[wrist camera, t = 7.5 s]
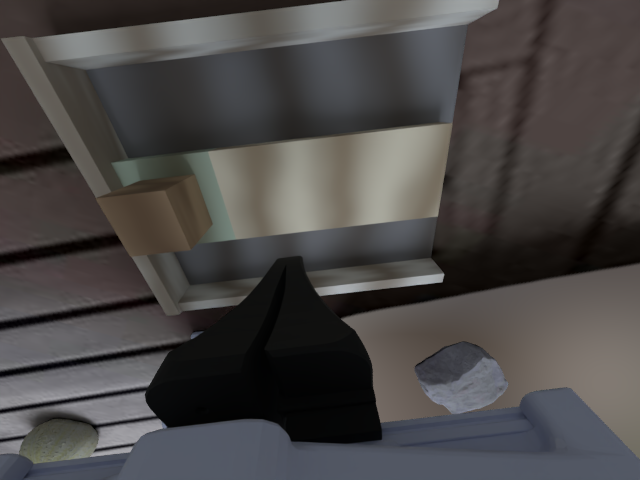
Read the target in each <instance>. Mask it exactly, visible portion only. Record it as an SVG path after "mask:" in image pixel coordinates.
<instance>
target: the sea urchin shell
mask: <svg viewBox="0 0 640 480" xmlns="http://www.w3.org/2000/svg"><path fill="white" fill-rule="evenodd" d="M98 440H99V439H98V436H97V432H96V431H95V429H94V428H93V427H92V426H91V425H89V424H87V423H82V422H77V421H73V420H70V419H68V420H67V419H59V418H58V419H52V420H49V421H48V422H44V423H43V424H40V425H39V426H37V427H35V428H34V429H33V430H32V431H31V432H30V433H28V435H27V436H26V437H25V439H24V441H23V442H22V445H21V448H20V451H19V455H22V456H25V457H27V458H28V459H30V460H31V461H33V464H37V463H45V462H54V461H62V460H71V459H79V458H87V457H90V456H91V454H92V453H93V452H94V450H95V448H96V447H97V444H98Z"/></svg>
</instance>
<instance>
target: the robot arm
mask: <svg viewBox="0 0 640 480" xmlns="http://www.w3.org/2000/svg"><path fill="white" fill-rule="evenodd" d="M372 373H373V369H372V363H371V360H370V358H369V355H368V353H367V351H366V349H365V347H364V345H363V343H362V341H361V340H360V338H359V336H358V335H357V333H356V331H355V330H354V329H352V328H351V327H350V326H348V325H347V324H346V323H345V322H343V321H342V320H341V319H340V318H339V317H338V316H337V315H336V314H335V313H334V312H333V311H332V310H331V309H330V308H329V307H328V306H327V305H326V304H325V302H324V301H323V300H322V299H321V297H320V296H319V295H318V293H317V292H316V290H315V289H314V287H313V285H312V284H311V282H310V280H309V278H308V276H307V274H306V272H305V268H304V262H303V257H301V256H293V257H285V258H278V259H277V260H276V261H275V262H274V264H273V265H272V267H271V268H270V269H269V271H268V272H267V273H266V275H265V276H264V277H263V278H262V280H261V281H260V282H259V283H258V285H257V286H256V287H255V288H254V289H253V290H252V292H251V293H250V294H249V295H248V296H247V297H246V298H245V299H244V300H243V301H242V302H241V303H240V304H238V305H237V306H236V307H235V308H234V309H233V310H232V311H230V312H229V313H228V314H227V315H225V316H224V317H223V318H222V319H221V320H219V321H218V322H217V323H215V324H214V325H212V326H211V327H210V328H208V329H207V330H205V331H202V332H194V333H192V335H191V340H190V341H188V342H186V343H184V344H183V345H181V346H179V347H178V348H176V349H174V350H173V351H171V352H169V353H168V355H167V356H166V358H165V359H164V361H163V363H162V364H161V366H160V368H159V370H158V371H157V373H156V375H155V376H154V378H153V380H152V382H151V383H150V385H149V387H148V389H147V391H146V393H145V398H146V402H147V404H148V406H149V407H150V409H151V410H152V411H153V412H154V413H155V414H156V415H157V417H158V418H159V419H160V420H161V421H162V427H163V429H160V430H156V431H153V432H149V433H147V434H145V435H143V436H141V438H140V439H139V440H138V441H137V442H136V443H135V445H134V447H133V448H132V450H131V452H130V453H121V454H113V455H104V456H96V457H87V458H79V459H71V460H62V461H54V462H45V463H37V464H33V461H31V460H30V459H28V458H27V457H25V456H22V455H19V454H1V455H0V480H640V459H639V458H638V457H637V456H636V455H635V454H634V453H633V452H632V451H631V450H630V449H629V448H628V447H627V446H626V445H625V444H624V443H623V442H622V441H621V440H620V439H619V438H618V437H617V436H616V435H615V434H614V432H612V430H611V429H609V427H608V426H607V425H606V424H605V423H604V422H603V421H602V420H601V419H600V418H599V417H598V416H597V415H596V414H595V413H594V412H593V411H592V410H591V409H590V408H589V407H588V406H587V405H586V403H584V401H582V399H581V398H580V397H579V396H578V395H577V394H576V393H575V392H574V391H573V390H572V389H571V388H567V387H566V388H557V389H549V390H540V391H534V392H530V393H528V394H526V395H525V396H524V397H523V398H522V400H521V403H520V406H519V407H511V408H503V409H495V410H487V411H478V412H469V413H460V414H452V415H443V416H435V417H427V418H419V419H410V420H401V421H393V422H384V423H380V419H379V415H378V411H377V407H376V398H375V394H374V390H373V374H372Z"/></svg>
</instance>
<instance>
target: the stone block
mask: <svg viewBox="0 0 640 480" xmlns="http://www.w3.org/2000/svg"><path fill="white" fill-rule="evenodd" d="M415 373H416V375H417V377H418V380H419V382H420V384H421V387H422V388H423V390H424V392H425V394H426V395H427V396H428V397H429V398H430V399H431V400H432V401H434V402H436V403H438V404H439V405H440V404H443V405H444V406H445V407H446V408H448V409H449V411H450V412H451V413H452V414H459V413H462V412H466V411H471V410H474V409H480V408H482V407H484V406H487V405H488V404H491V403H493V402H494V401H495V400H496V399H497V398H498V397H499V396H500V395H502V394H503V393H504V391H505V390H506V388H507V386H508V382H507V381H506V379H505V378H504V375H503V372H502V370H501V368H500V367H499V365H498V363H497V361H496V360H495V359H494V358H493V357H491V356H490V355H489V354H488V353H487V352H486V351H485V350H484V349H483V348H481V347H479V346H478V345H476V344H472V343H468V342H459V343H456V344H452V345H449V346H444V347H443V348H441V349H440V350H439V351H437V352H436V353H434V354H433V355H431V356H429V357H427V358H426V359H424V360H423V361H422V362H420V363H418V364H417V365H416V366H415Z"/></svg>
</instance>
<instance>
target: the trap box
mask: <svg viewBox="0 0 640 480" xmlns="http://www.w3.org/2000/svg"><path fill="white" fill-rule="evenodd" d="M498 2H499V0H346V1H337V2H329V3H321V4H312V5H304V6H296V7H288V8H279V9H271V10H263V11H254V12H246V13H238V14H229V15H221V16H213V17H204V18H196V19H188V20H179V21H171V22H163V23H155V24H146V25H138V26H130V27H121V28H113V29H105V30H96V31H88V32H80V33H71V34H63V35H55V36H46V37H38V38H29V37H26V36H19V37H11V38H3V39H1V40H2V42H3V43H4V45H5V47H6V48H7V50H8V52H9V53H10V55H11V57H12V58H13V60H14V62H15V63H16V65H17V67H18V68H19V70H20V72H21V73H22V75H23V77H24V78H25V80H26V82H27V83H28V85H29V87H30V88H31V90H32V92H33V93H34V95H35V97H36V98H37V100H38V102H39V103H40V105H41V107H42V108H43V110H44V112H45V113H46V115H47V117H48V118H49V120H50V122H51V123H52V125H53V127H54V128H55V130H56V132H57V133H58V135H59V137H60V138H61V140H62V142H63V143H64V145H65V147H66V148H67V150H68V152H69V153H70V155H71V157H72V158H73V160H74V162H75V163H76V165H77V167H78V168H79V170H80V172H81V173H82V175H83V177H84V178H85V180H86V182H87V183H88V185H89V187H90V188H91V190H92V192H93V193H94V195H95V197H96V198H98V197H100V196H103V195H105V194H108V193H110V192H113V191H115V190H118V189H120V188H123V187H125V186H128V185H130V184H133V183H135V182H138V181H141V180H149V179H158V178H167V177H175V176H184V175H193V174H195V176H196V179H197V182H198V185H199V187H200V190H201V193H202V196H203V198H204V201H205V204H206V207H207V209H208V212H209V215H210V218H211V220H212V223H213V225H212V226H211V227H210V228H209V229H208V231H207V232H206V233H205V234H204V235H203V236H202V238H201V239H200V240H199V241H198V242H197V244H196V245H195V246H194V247H193V248H192V249H191V250H187V251H178V252H169V253H160V254H152V255H143V256H134V257H132V258H133V260H134V262H135V263H136V265H137V267H138V268H139V270H140V272H141V273H142V275H143V277H144V278H145V280H146V282H147V283H148V285H149V287H150V288H151V290H152V292H153V293H154V295H155V297H156V298H157V300H158V302H159V303H160V305H161V307H162V308H163V310H164V312H165V313H166V315H167V316H172V315H180V313H181V312H182V311H189V310H198V309H207V308H216V307H225V306H234V305H238V304H240V303H241V302H242V301H243V300H244V299H245V298H246V297H247V296H248V295H249V294H250V293H251V292H252V290H253V289H254V288H255V287H256V286H257V285H258V283H259V282H260V281H261V280H262V278H263V277H264V276H265V275H266V273H267V272H268V271H269V269H270V268H271V267H272V265H273V264H274V262H275V261H276V260H277V259H278V258H285V257H293V256H301V257H303V262H304V268H305V272H306V274H307V276H308V278H309V280H310V282H311V284H312V285H313V287H314V289H315V290H316V292H317V293H318V295H319V296H322V295H331V294H340V293H349V292H358V291H367V290H376V289H384V288H393V287H402V286H411V285H420V284H429V283H438V282H443V277H444V273H443V272H442V270H441V269H440V268H439V267H438V266H437V265H436V263H435V262H434V261H433V260H432V259H431V253H432V247H433V241H434V234H435V228H436V222H437V216H438V211H439V205H440V199H441V193H442V186H443V180H444V174H445V168H446V161H447V155H448V149H449V143H450V136H451V130H452V124H453V123H452V121H453V115H454V108H455V102H456V96H457V90H458V83H459V77H460V71H461V64H462V58H463V52H464V45H465V39H466V33H467V26H468V24H469V23H471V22H473V21H475V20H476V19H478V18H480V17H482V16H484V15H485V14H487V13H489V12H491V11H493V10H494V9H496V8H497V7H498Z"/></svg>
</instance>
